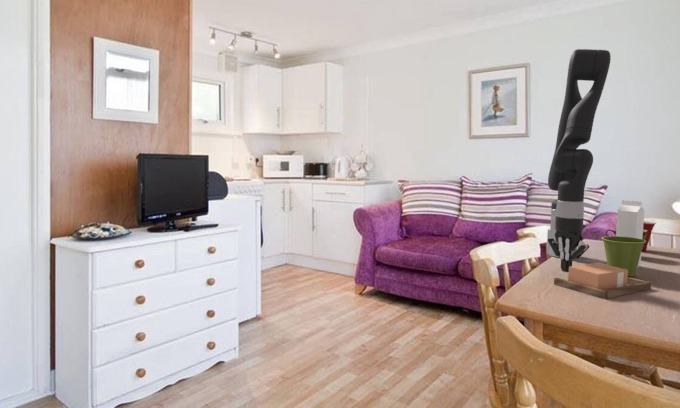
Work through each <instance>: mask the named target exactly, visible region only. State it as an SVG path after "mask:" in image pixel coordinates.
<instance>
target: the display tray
mask: <svg viewBox="0 0 680 408" xmlns="http://www.w3.org/2000/svg"><path fill="white" fill-rule="evenodd" d="M553 285H556V286H559V287H563V288H566V289H569V290H573V291H575V292H580V293H583V294H586V295H589V296H593V297H596V298H600V299H603V300H606V299H611V298H616V297H620V296H624V295H630V294H633V293H638V292H643V291H647V290H652V282H650V281H646V280H642V279H638V278H634V277H630V276H628V278H627V286H623V287H618V288H613V289H608V290H600V289H597V288H593V287H589V286H586V285H582V284H579V283H575V282H571V281H568V279H563V278H561V277H554V278H553Z"/></svg>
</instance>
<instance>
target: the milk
mask: <svg viewBox="0 0 680 408" xmlns="http://www.w3.org/2000/svg"><path fill="white" fill-rule="evenodd" d="M642 203H643V202H642V201H637V200H636V201H635V200H626V199H625V200H621V205H620V206H619V208H618V209H617V213H616V227H615V228H616V230H615V231H616V236H619V237H632V238H638V239H642V237H643V224H644V221H645V209H644V208H643V207H642V205H643V204H642ZM641 261H642V253H641V254H640V258H639V262H638V266H637V268H639V267H641V263H642V262H641Z"/></svg>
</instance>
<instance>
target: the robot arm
mask: <svg viewBox="0 0 680 408" xmlns="http://www.w3.org/2000/svg"><path fill="white" fill-rule="evenodd" d="M611 57H612V56H611V52H610V51H609V50H606V49H587V48H583V49H580V48H578V49H575V50H573V52H572V54H571V55H570V58H569V63H568V67H567V68H568V70H567V77H566V84H565V93H564V100H563V103H562V104H563V105H562V110H561V113H560V117H559V118H560V119H559V125H558V129H557V136H556V142H555V149H554V153H553V157H552V161H551V164H550V168H549V172H548V177H547V179H548V180H547V185H548V188H549V189H550V190H552V191H554V192H555V191H556V192H557V199H555V200H553V201H552V202H551V205H550V206H551V207H550V208H551V209H550V224H549V225H550V226H549V227H550V228H547V236H546V237H547V238H546V239H547V240H546V255H549V256H551V257H555V258H560V269H561V272H562V273H569V267H570V266H573V260H579V259H580V258H581V257H582V256H583V255H584V254H585V253H586V252H587V250H588V249H590V245H589V244H588V243H587V244H586V243H585V242H584V241H583V236H582V235H583V234H582V232H583V230H584V215H585V206H584V196H585V188H586V184H587V179H588V176H589V174H590V171H591V169H592V166H593V163H594V156H593V153H592V152H591V150H589V149H586V148H579V147H580V146H582V145H585V144H588V143H589V141H590V140H591V137H592V131H593V126H594V120H595V116H596V113H597V109H598V106H599V103H600V100H601V97H602V93H603V90H604V88H605V84H606V81H607V77H608V74H609V70H610V66H611V65H610V64H611ZM578 81H589V82H592V85H591V88H590V89H589V91H588V92H587V93H586V94H585V95H584V97H582V95H581V92H580V89H579V84H578Z"/></svg>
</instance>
